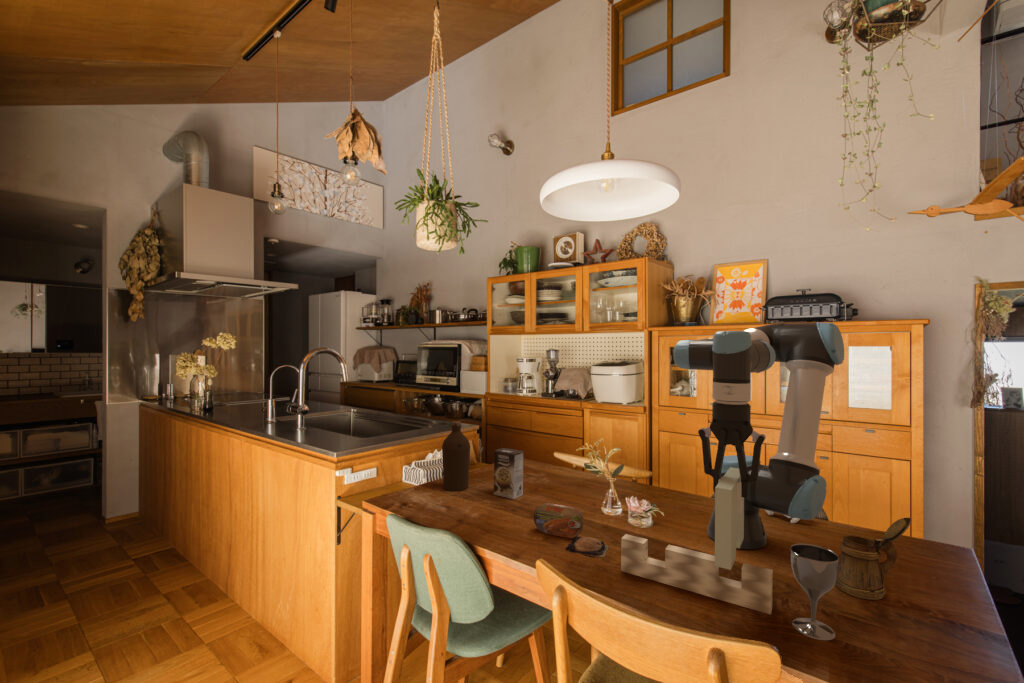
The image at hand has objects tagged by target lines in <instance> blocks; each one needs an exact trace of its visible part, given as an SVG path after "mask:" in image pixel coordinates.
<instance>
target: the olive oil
mask: <svg viewBox="0 0 1024 683" xmlns="http://www.w3.org/2000/svg"><path fill="white" fill-rule="evenodd" d="M461 422H462V421H461V420H453V421H451V432H449V434H448V436H447V437H445V439H444V440H443V442H442V446H441V450H442V451H441V455H442V457H441V458H442V478H443V479H442V480H443V481H442V482H443V489H444V490H446V491H448V492H460V491H464V490H467V489H468V488H469V484H470V483H469V481H470V480H469V479H470V478H469V477H470V475H469V474H470V458H471V457H470V456H471V444H470V441H469V439H468V438H467V436H466V435H465V434H464V433H463V432H462V429H461V428H462V424H461Z"/></svg>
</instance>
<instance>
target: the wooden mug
mask: <svg viewBox="0 0 1024 683" xmlns="http://www.w3.org/2000/svg"><path fill="white" fill-rule="evenodd" d="M911 522H912V519H911V517H902V518H899V519H897V520H896V521H894V522H893V523H892V524H891V525H890V526H889V527H888V528H886V531H885V533H884V535H883V537H882V538H874V539H873V540H871V539H869V538H867V537H865V536H861V535H853V534H847V535H843V538H842V541H841V543H840V547H839V549H840V550H841V553H840V558H839V568H838V576H837V580H836V583H835V585H834V586H836V587H837V588H838V589H839V590H841V591H842V592H844V593H846V594H847V595H849V596H853V597H855V598H859V599H863V600H869V601H870V600H871V601H873V600H874V601H879V600H882V599H883V598H885V596H886V588H885V586H884V582H885V578H886V576H887V574H888V572H890V571H891V569H893V567H894V566H895V564H896V562H897V559H898V552H897V548H896V547H895V545H894V544H893V542H895V541H896V540H898V539H899V538H900V537H901V536H903V534H905V532H906V531H907V530H908V528H909V527H910V525H911ZM880 551H881V552H884V554H885V555H886V559H885V561H882V562H880V558H881V557H882V553H881V552H880Z"/></svg>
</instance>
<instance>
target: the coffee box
mask: <svg viewBox="0 0 1024 683" xmlns="http://www.w3.org/2000/svg"><path fill="white" fill-rule="evenodd" d="M523 490H524V450H518V449H513V448H507V447H502V448H498V449H495V450H494V452H493V495H494V496H499V497H503V498H506V499H511V500H515V499H518V498H520V497H522V496H523V495H524V491H523Z"/></svg>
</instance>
